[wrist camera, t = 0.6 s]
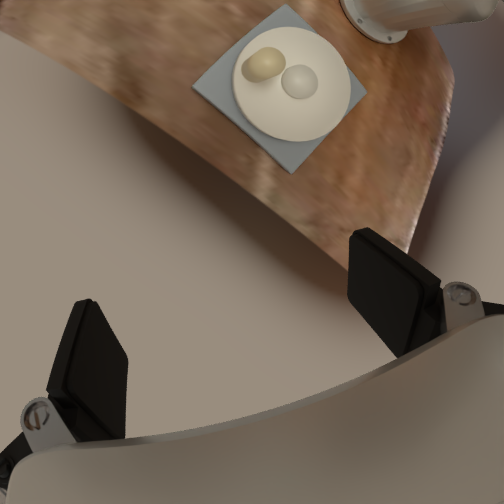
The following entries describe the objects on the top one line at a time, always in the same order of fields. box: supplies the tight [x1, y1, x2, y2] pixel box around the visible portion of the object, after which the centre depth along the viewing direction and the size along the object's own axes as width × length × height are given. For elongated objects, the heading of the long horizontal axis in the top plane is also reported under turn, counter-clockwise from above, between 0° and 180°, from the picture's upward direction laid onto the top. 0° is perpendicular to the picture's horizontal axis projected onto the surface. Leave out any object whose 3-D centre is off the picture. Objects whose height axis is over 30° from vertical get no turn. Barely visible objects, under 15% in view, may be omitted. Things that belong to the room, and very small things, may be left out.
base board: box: [191, 4, 367, 174], centre depth 30 cm, size 16×16×2 cm
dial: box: [232, 27, 351, 142], centre depth 26 cm, size 14×14×7 cm
